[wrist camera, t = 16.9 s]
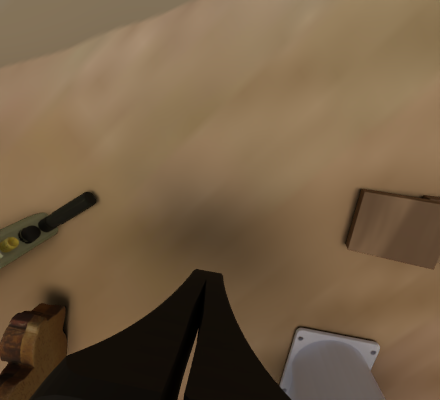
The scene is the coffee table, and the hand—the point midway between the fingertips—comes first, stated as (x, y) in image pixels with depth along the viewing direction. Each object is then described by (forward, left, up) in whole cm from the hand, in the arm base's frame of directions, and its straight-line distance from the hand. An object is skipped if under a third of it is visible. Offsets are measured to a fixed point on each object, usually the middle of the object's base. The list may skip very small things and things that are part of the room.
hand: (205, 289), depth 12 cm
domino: (+2, -11, -10) cm, 15 cm away
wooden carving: (-19, +16, -11) cm, 27 cm away
